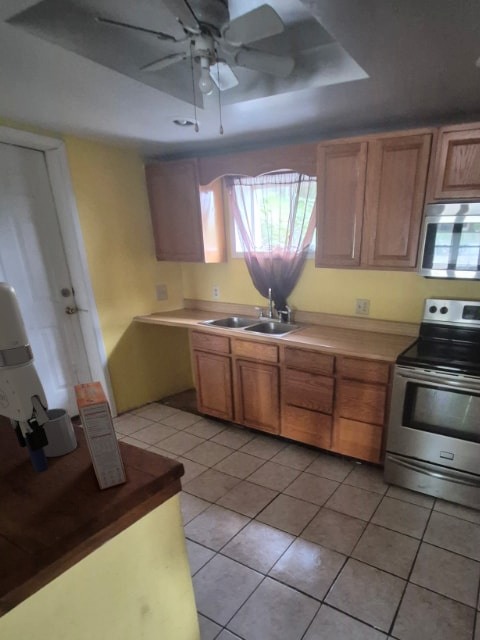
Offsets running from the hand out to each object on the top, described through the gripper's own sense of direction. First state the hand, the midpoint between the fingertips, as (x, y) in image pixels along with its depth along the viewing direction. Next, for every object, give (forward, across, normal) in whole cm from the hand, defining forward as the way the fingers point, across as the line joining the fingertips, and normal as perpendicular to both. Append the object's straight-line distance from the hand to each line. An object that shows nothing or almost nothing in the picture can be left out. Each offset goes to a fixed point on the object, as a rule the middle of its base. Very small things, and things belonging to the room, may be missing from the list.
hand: (34, 445), depth 72 cm
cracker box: (+15, 0, +14) cm, 20 cm away
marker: (+6, 0, 0) cm, 6 cm away
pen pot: (+15, -21, +15) cm, 30 cm away
